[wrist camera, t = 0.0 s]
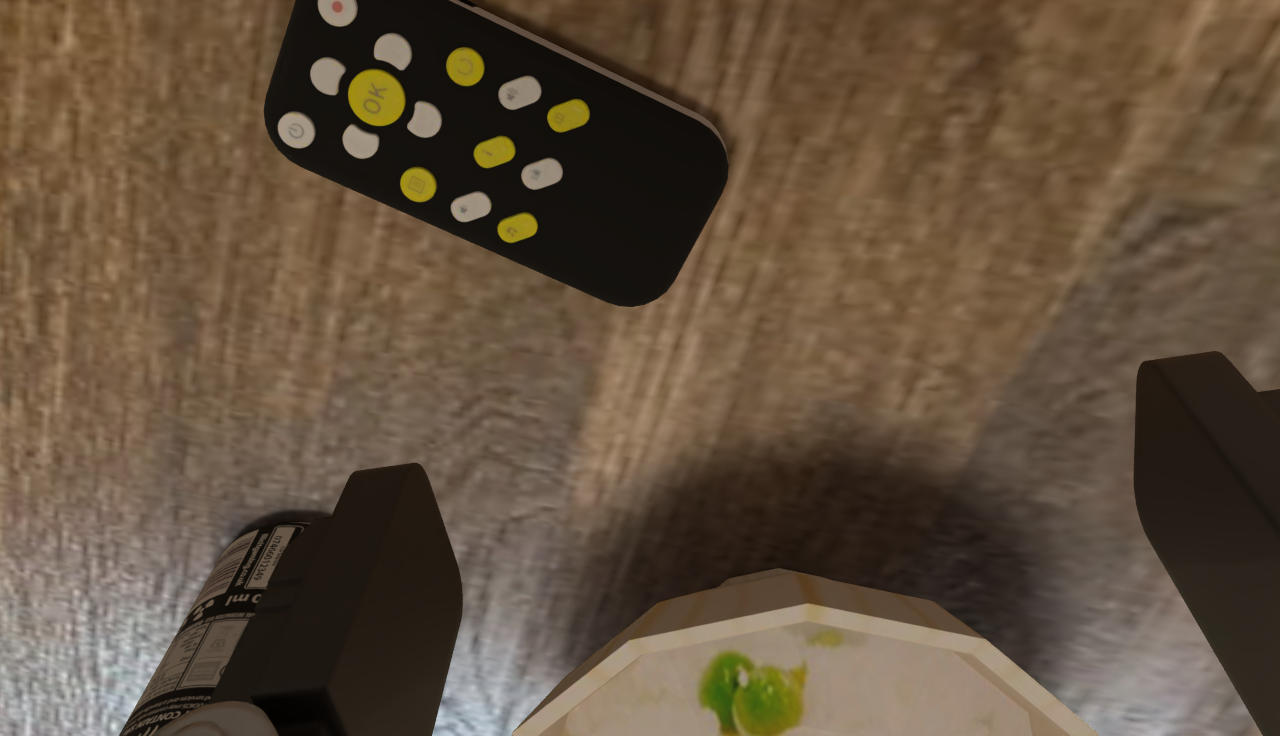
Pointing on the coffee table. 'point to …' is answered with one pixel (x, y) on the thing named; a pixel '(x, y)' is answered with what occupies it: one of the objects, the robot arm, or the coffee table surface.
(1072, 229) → the coffee table surface
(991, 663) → the bowl
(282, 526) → the beverage can
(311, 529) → the robot arm
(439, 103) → the remote control
